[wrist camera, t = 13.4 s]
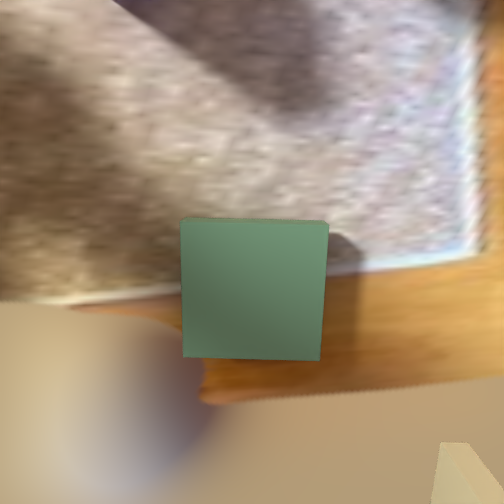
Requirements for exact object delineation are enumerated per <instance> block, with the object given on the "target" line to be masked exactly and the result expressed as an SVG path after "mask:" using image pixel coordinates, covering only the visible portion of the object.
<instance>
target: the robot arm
mask: <svg viewBox="0 0 504 504" xmlns="http://www.w3.org/2000/svg"><path fill="white" fill-rule="evenodd" d="M430 504H504V489H503V488H502V487H501V486H500V484H499V483H498V482H497V480H496V479H495V478H494V476H493V475H492V474H491V472H490V471H489V470H488V468H487V467H486V466H485V465H484V463H483V462H482V461H481V459H480V458H479V457H478V456H477V454H476V453H475V452H474V450H473V449H472V448H471V446H470V445H469V444H468V443H460V442H441V443H440V449H439V455H438V460H437V466H436V472H435V478H434V484H433V490H432V496H431V501H430Z"/></svg>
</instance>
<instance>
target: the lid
mask: <svg viewBox="0 0 504 504" xmlns="http://www.w3.org/2000/svg"><path fill="white" fill-rule="evenodd" d="M328 235H329V225H328V224H327V223H326V222H325V221H321V220H277V219H234V218H190V217H186V218H185V219H183V220H182V221H180V252H181V293H182V334H183V357H195V358H230V359H264V360H299V361H320V351H321V337H322V322H323V308H324V293H325V278H326V264H327V249H328Z"/></svg>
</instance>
